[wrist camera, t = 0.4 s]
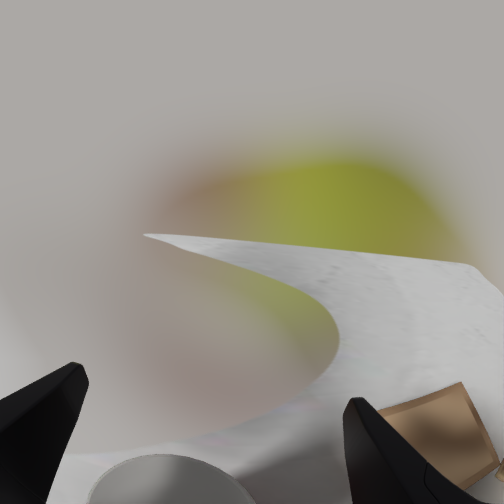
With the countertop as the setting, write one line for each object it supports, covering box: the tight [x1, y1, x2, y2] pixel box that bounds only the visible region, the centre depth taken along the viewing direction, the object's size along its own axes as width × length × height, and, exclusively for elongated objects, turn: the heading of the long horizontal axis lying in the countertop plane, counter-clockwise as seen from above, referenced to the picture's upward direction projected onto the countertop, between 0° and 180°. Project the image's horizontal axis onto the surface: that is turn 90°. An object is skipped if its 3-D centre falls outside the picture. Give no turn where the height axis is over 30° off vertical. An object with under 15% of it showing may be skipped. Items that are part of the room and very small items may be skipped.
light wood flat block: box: [377, 382, 501, 490], centre depth 15 cm, size 10×10×4 cm
